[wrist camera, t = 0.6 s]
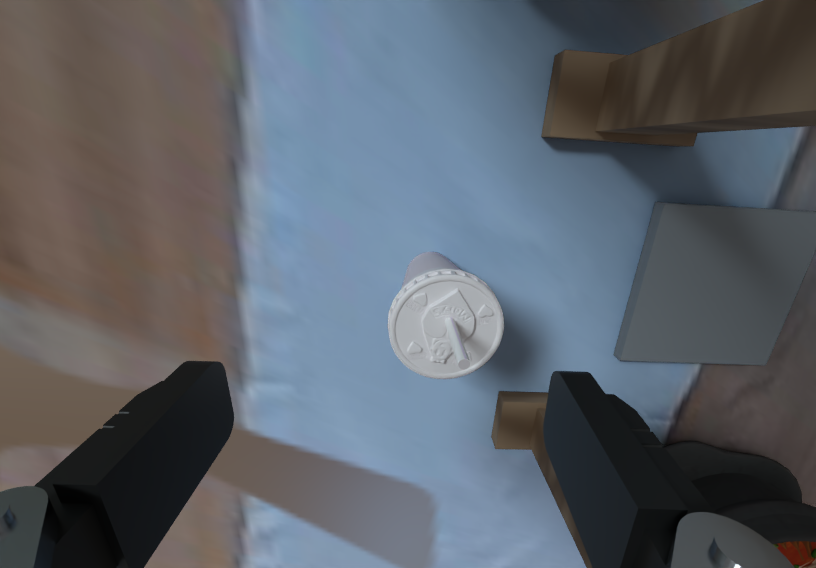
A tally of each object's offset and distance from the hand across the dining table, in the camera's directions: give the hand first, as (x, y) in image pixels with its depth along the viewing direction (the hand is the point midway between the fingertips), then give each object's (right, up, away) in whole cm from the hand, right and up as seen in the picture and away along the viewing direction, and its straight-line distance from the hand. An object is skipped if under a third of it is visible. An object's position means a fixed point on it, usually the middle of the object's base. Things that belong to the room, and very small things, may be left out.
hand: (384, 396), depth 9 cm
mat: (+25, +3, +21) cm, 33 cm away
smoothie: (+2, +4, +20) cm, 21 cm away
